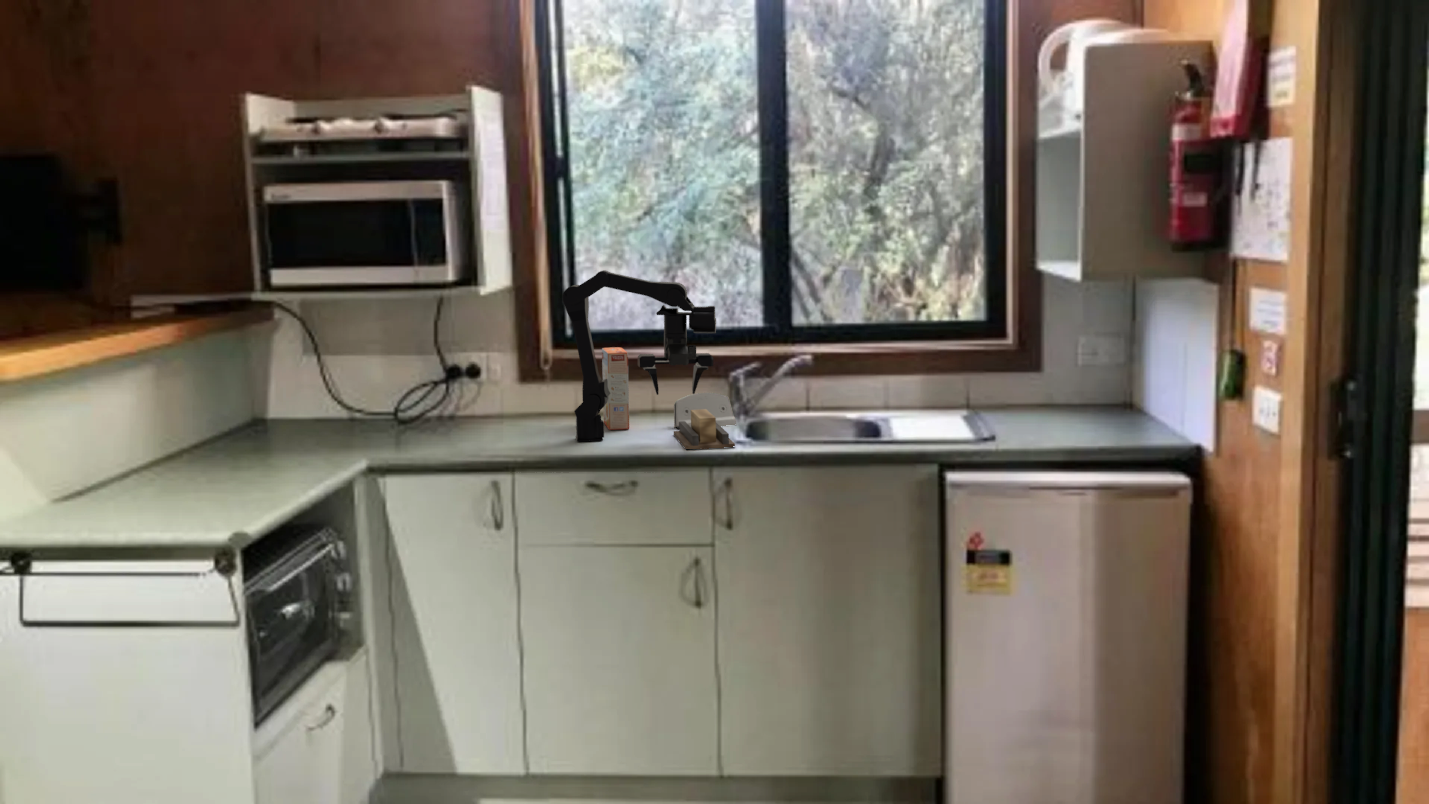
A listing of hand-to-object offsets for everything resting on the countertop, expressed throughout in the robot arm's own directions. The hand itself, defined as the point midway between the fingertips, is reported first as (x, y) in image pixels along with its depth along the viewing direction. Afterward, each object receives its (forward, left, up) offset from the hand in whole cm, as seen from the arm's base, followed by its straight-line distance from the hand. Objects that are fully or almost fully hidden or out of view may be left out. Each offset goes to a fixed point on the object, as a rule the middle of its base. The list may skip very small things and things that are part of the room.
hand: (675, 394), depth 338 cm
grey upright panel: (+10, +18, -12) cm, 24 cm away
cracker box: (-13, +24, -12) cm, 30 cm away
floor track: (+6, -5, -12) cm, 14 cm away
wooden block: (+6, -5, -11) cm, 13 cm away
